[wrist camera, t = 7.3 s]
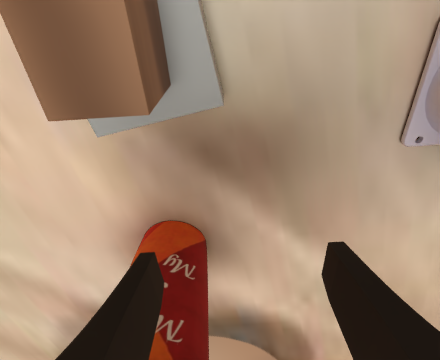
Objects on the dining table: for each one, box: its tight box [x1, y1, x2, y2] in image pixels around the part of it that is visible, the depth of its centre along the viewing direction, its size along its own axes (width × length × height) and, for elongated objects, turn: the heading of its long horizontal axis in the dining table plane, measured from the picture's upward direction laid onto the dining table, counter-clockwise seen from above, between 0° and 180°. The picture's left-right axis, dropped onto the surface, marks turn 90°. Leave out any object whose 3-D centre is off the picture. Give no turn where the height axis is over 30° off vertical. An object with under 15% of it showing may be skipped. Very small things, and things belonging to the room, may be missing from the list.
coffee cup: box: [130, 221, 209, 360], centre depth 18 cm, size 8×8×15 cm
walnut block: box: [0, 0, 171, 121], centre depth 11 cm, size 4×4×5 cm
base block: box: [88, 0, 224, 137], centre depth 14 cm, size 8×8×3 cm
